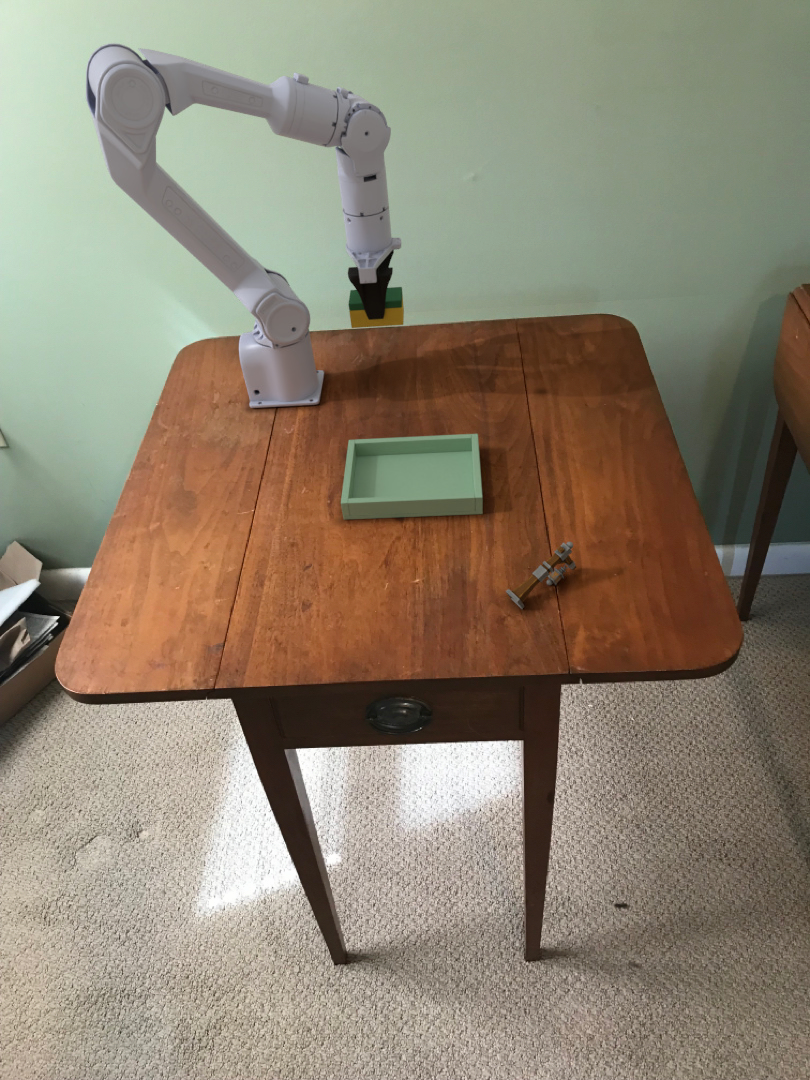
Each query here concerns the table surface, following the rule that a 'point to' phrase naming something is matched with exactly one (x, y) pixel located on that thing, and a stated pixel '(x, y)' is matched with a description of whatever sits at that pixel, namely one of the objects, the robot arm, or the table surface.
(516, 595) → the wooden post with brackets
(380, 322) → the sponge
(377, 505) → the pan
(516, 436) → the table surface
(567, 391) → the table surface
